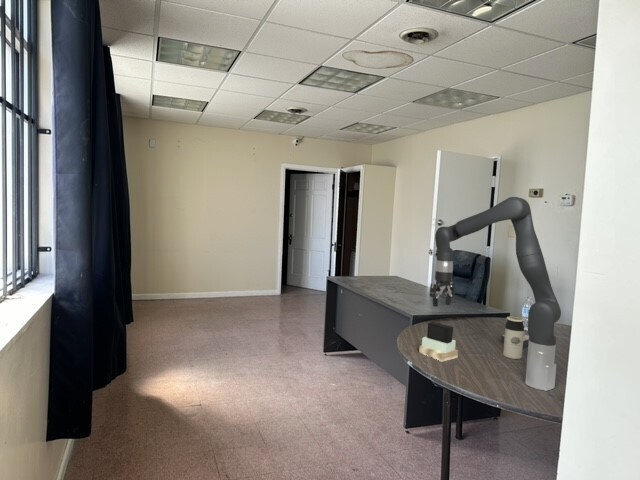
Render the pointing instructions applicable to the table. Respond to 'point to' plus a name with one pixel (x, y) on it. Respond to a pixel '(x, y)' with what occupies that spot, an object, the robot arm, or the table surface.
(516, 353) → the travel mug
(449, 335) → the digital camera
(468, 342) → the table surface
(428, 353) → the block bottom
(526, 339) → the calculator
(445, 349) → the block top
